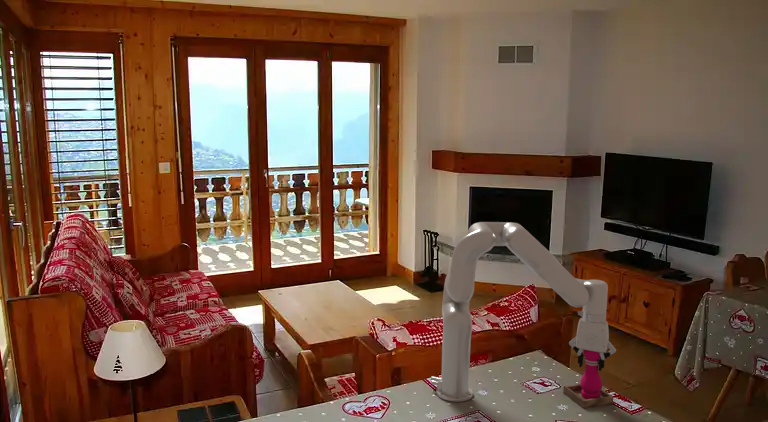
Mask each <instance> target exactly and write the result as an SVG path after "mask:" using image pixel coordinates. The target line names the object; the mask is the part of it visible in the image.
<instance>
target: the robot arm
mask: <svg viewBox="0 0 768 422" xmlns="http://www.w3.org/2000/svg"><path fill="white" fill-rule="evenodd" d="M494 247H506V248H507V249H508V250H509V251H510V252H511V253H512V254H513V255H515V256H516V257H517V258H518V259H519V260H520V261H521V262H522V263H523V264H525V266H526V267H527V268H529V269H530V271H532V272H533V274H535V275H536V276H537V277H538V278H539V279H540V280H542V281H544V282H545V283H546V284H547V285H548V286H549V287H550V288H552V290H553V291H554V292H555V293H556V294H557V295H559V296H560V297H561V299H563V300H564V301H565V302H566V303H567V304H568V305H569V306H571V307H573V308H582V310H577V315H578V316H580V318H579V320H578V324H577V330H576V335H575V337H573V338H572V339H571V340H570V341H569V342H568V345H569V346H570V347H571V348H572V349H573V351H574V352H575V353H576V355H577V364H579V365H578V366H579V368H582V367H583V365H584V358H585V356H584V354H583V350H588V351H594V352H599V353H600V360H599V365H598V372H602V370H603V369H604V368H605V361H606V359H608V357H610V356H612V355H614V354H615V353H616V352H617V349H616V347H614V345H613V344H612V343H611V342H610V339H609V336H610V332H609V323H608V321H607V307H608V292H609V289H608V288H609V286H608V283H607V282H605V280H600V279H582V278H581V279H580V278H576V277H574V275H572V274H571V273H570V272H569V271H568V270H567V269H566V267H564V266H563V264H562V263H560V261H559V260H558V258H556V257H555V256H554V254H552V253H551V252H550V251H549V250H548V249H547V248H546V247H545V246H544V245H543V244H541V242H540V241H539V240H538V239H536V238H535V236H533V235H532V234H531V233H530V232H529V231H528V230H527V229H525V227H523V226H522V225H521V224H520V223H518V222H511V221H510V222H508V221H506V222H503V221H501V222H500V221H479V222H475V223H473V224H471V225H470V227H469V228H468V230H467V234H466V235H465V236H464V237H462V238H461V239H460V240H459V241H458V242H457V243H456V244H455V247H454V249H453V251H452V256H451V261H450V268H449V272H448V273H447V274H446V276H445V280H444V285H443V295H442V305H441V314H442V323H443V325H442V326H443V327H442V342H441V343H442V345H441V346H442V348H441V376H440V377H437V376H433V375H432V376H431V377H430V383H431V385H434V386H437V388H436V395H437V396H438V398H440V399H442V400H445V401H447V402H448V401H449V402H455V403H457V402H458V403H461V402H466V401H469V400H470V399H472V397H473V396H474V392H473V391H474V390H473V389H472V388H471V386H469V385H470V364H471V362H470V361H471V358H470V357H471V340H472V332H473V318H472V314H471V311H470V301H471V299H472V297H473V295H474V293H475V281H476V280H475V278H476V270H477V263H478V261H479V259H480V257H481V256H482V255H484V254H485V253H487V252H490V251H491V250H492V249H493V248H494ZM608 349H609V350H608ZM607 350H608V351H607Z"/></svg>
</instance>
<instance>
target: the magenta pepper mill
mask: <svg viewBox="0 0 768 422" xmlns="http://www.w3.org/2000/svg"><path fill="white" fill-rule="evenodd" d="M582 352H583V354H584V360H583V363H585V369H584V373H583V374H582V376H581V379H580V381H579V382H580V383H579V384H580V386H581V387H582V390H581V396H582V397H583V398H584V399H594V398H600V396H601V393H600V390H601V389H602V390H603V381H602V379H601V376H600V374H599V372H600V371H599V360H600V353H599V352H594V351H588V350H583V351H582Z"/></svg>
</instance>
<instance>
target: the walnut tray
mask: <svg viewBox="0 0 768 422" xmlns="http://www.w3.org/2000/svg"><path fill="white" fill-rule="evenodd" d="M581 390H582V387H581V386H580V383H579V384H578V383H577V384H569V385H564V386H563V395H565V396H567V397H568V398H569V399H570V400H572V401H573V402H574V403H576V404H577V405H578V406H579V407H581V408H582V409H588V408H595V407H603V406H611V405H614V396H613V395H611V394H610V393H609V392H607V391H605V390H604V389H603V388H602V389H601V390H600V393H601V396H600V398H594V399H584V398H583V397H582V396H581Z"/></svg>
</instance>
